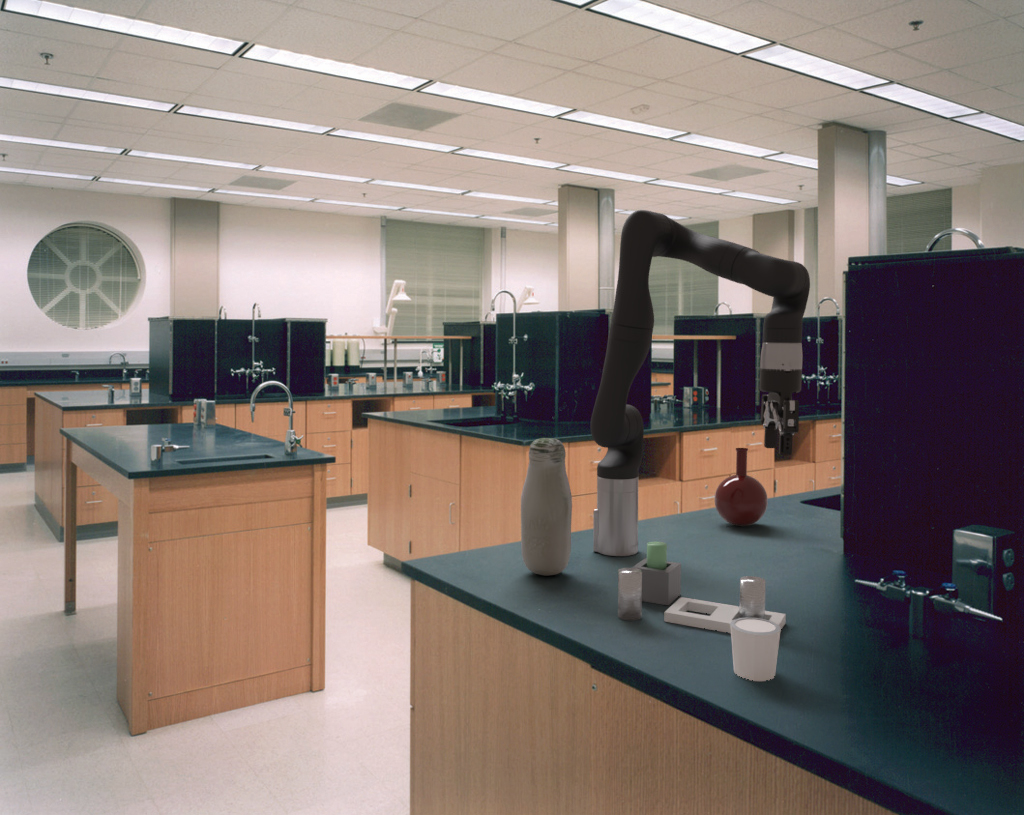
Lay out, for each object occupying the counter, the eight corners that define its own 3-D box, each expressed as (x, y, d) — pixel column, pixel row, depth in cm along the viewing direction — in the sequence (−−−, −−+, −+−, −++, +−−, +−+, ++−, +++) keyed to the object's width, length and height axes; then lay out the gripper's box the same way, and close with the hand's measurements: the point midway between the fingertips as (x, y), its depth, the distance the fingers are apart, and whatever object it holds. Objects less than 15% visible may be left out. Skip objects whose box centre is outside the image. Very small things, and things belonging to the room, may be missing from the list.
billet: (614, 617, 133) (614, 572, 133) (623, 610, 137) (623, 566, 136) (636, 621, 131) (636, 575, 131) (644, 614, 135) (645, 569, 134)
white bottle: (514, 577, 156) (513, 439, 154) (534, 564, 166) (534, 434, 163) (559, 584, 152) (559, 442, 150) (578, 570, 161) (578, 436, 159)
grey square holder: (631, 599, 143) (631, 567, 142) (645, 588, 149) (645, 558, 148) (668, 605, 139) (668, 572, 139) (680, 594, 145) (681, 563, 145)
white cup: (722, 664, 114) (723, 617, 113) (767, 662, 115) (768, 615, 114) (739, 684, 107) (740, 634, 107) (788, 682, 108) (789, 633, 107)
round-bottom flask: (706, 520, 206) (707, 445, 205) (754, 519, 208) (755, 444, 206) (725, 532, 193) (726, 452, 192) (776, 530, 195) (777, 451, 193)
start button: (643, 576, 143) (644, 544, 143) (650, 571, 146) (650, 540, 146) (662, 579, 141) (662, 547, 141) (669, 574, 144) (669, 543, 144)
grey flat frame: (664, 621, 131) (664, 612, 131) (680, 605, 139) (681, 597, 139) (774, 641, 122) (774, 631, 122) (785, 623, 130) (785, 614, 130)
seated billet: (736, 628, 128) (737, 581, 127) (742, 621, 131) (743, 574, 131) (761, 633, 126) (762, 584, 125) (766, 625, 129) (767, 578, 129)
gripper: (749, 365, 155) (746, 445, 156) (773, 368, 140) (770, 457, 142) (787, 365, 155) (784, 446, 156) (815, 368, 140) (811, 457, 142)
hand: (777, 451), depth 149 cm, fingers open, 8 cm apart
